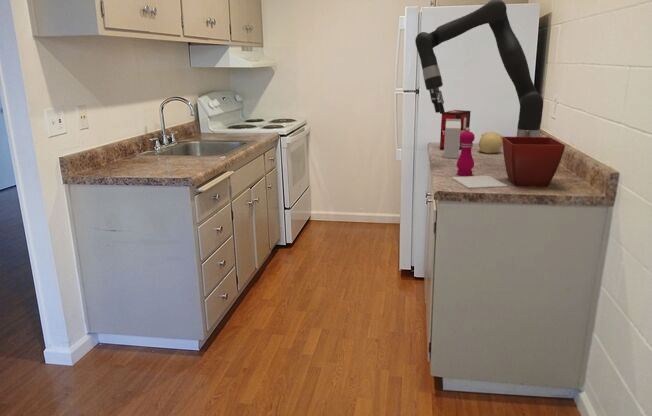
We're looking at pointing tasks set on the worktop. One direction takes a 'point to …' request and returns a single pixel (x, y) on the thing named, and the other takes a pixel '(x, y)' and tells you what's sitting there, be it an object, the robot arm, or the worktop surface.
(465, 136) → the pepper mill
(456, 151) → the milk carton
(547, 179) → the plant pot
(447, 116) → the cleaning product box
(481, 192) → the worktop surface
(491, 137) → the tan ball
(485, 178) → the mat
